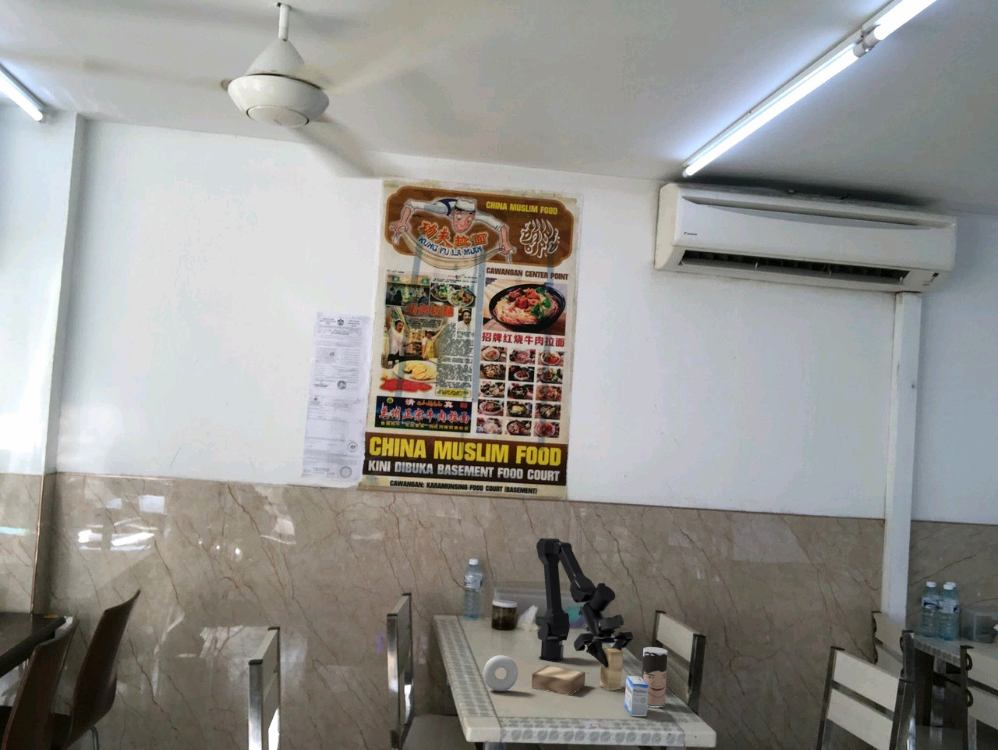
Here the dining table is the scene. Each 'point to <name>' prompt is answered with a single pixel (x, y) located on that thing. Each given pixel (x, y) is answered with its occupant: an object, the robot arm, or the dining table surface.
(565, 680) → the plinth
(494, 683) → the donut
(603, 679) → the oak block
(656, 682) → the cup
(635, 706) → the medicine box
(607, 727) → the dining table surface
